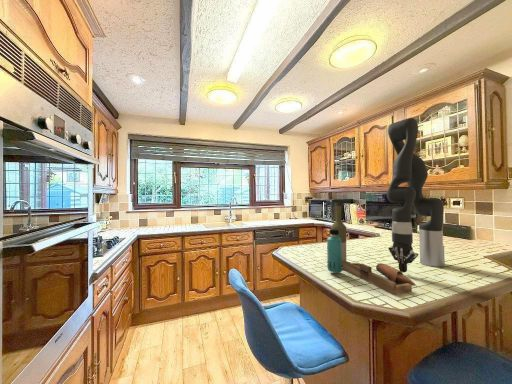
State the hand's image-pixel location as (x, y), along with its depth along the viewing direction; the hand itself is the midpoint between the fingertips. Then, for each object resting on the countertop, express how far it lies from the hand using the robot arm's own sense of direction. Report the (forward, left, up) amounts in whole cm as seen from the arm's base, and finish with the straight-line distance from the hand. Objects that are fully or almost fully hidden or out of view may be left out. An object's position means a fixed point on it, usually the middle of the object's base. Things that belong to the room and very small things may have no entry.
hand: (402, 271), depth 95 cm
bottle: (+19, -18, -2) cm, 26 cm away
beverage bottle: (+27, -10, -2) cm, 29 cm away
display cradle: (+16, 0, -2) cm, 16 cm away
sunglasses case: (+5, 0, -2) cm, 5 cm away
